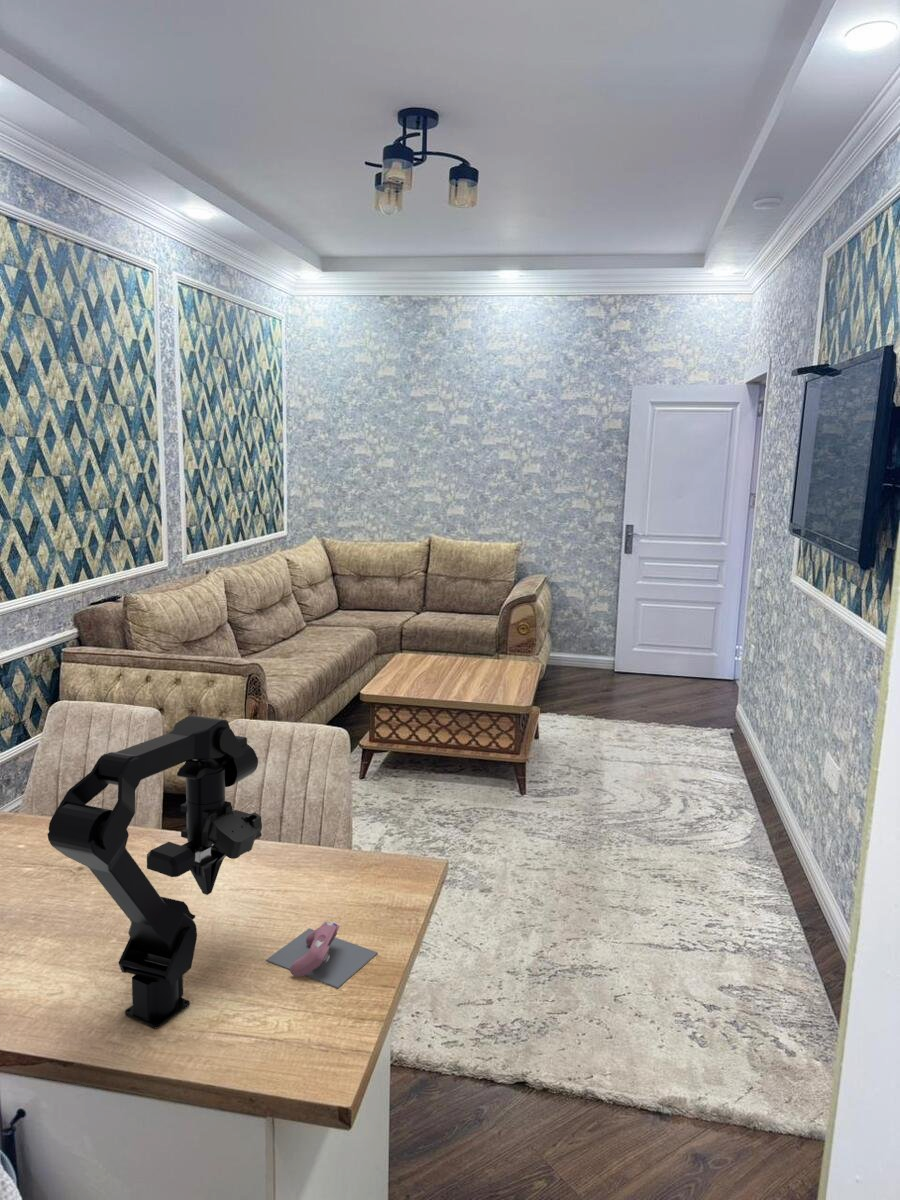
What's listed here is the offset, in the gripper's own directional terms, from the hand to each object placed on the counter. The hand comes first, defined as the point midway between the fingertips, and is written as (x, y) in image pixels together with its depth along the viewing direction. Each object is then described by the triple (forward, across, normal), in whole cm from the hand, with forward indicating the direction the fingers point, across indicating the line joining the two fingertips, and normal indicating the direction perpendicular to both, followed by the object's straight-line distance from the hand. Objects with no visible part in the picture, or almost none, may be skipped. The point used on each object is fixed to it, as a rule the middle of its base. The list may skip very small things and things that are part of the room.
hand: (207, 893), depth 131 cm
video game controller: (+12, +9, -14) cm, 21 cm away
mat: (+12, +11, -14) cm, 21 cm away
